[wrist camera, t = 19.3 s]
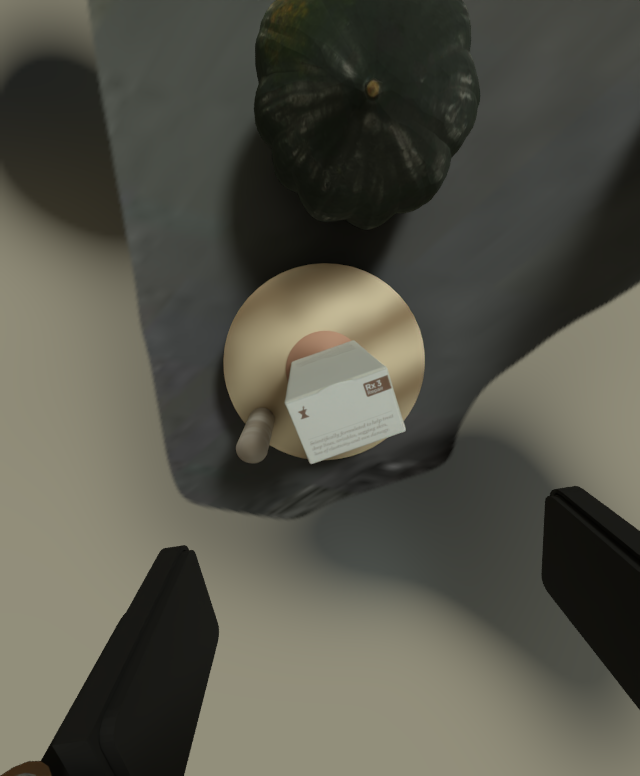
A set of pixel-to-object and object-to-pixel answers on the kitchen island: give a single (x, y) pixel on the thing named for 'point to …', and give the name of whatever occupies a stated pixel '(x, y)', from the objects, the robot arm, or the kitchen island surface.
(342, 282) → the turntable
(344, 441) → the skincare box
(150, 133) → the kitchen island surface
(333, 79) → the squash
